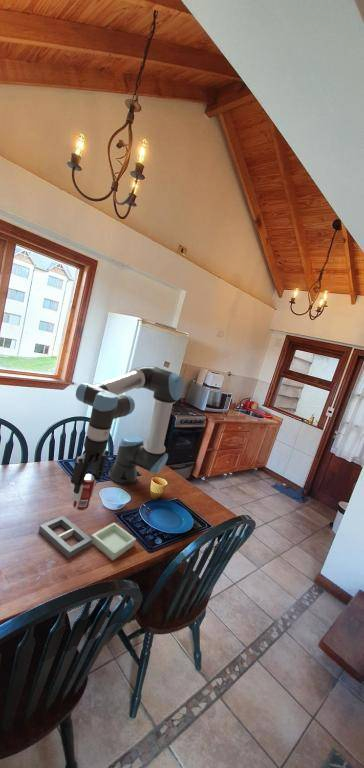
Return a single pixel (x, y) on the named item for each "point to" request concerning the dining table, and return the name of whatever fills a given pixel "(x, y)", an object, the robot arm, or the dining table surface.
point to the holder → (65, 536)
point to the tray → (113, 540)
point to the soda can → (85, 493)
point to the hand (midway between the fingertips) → (82, 497)
